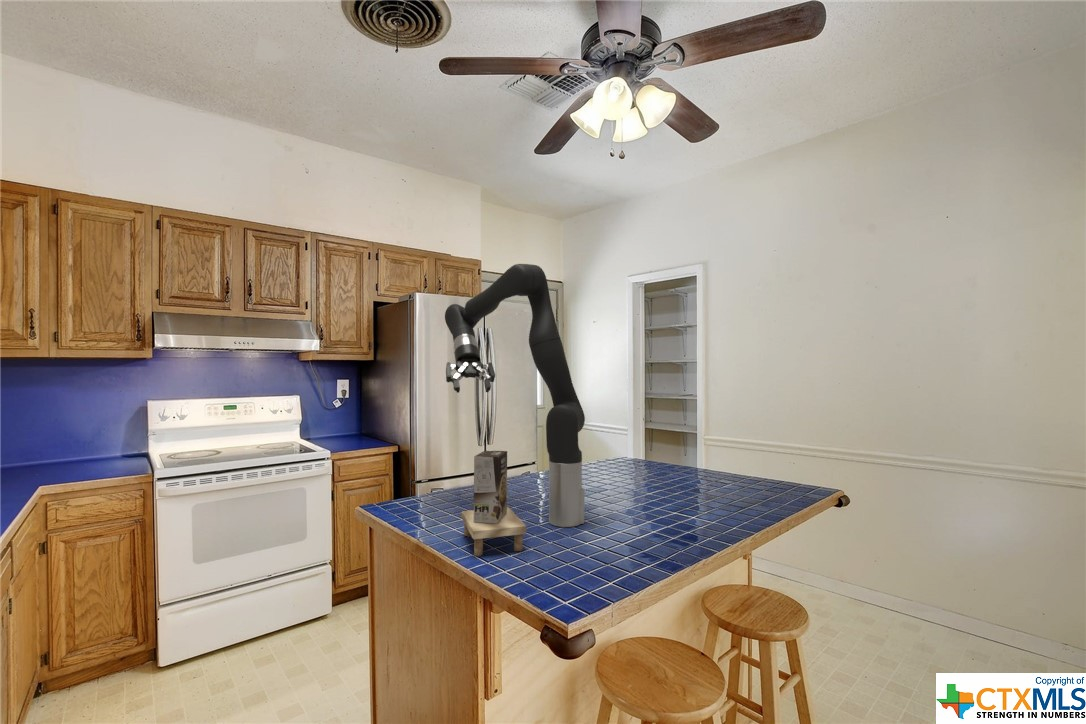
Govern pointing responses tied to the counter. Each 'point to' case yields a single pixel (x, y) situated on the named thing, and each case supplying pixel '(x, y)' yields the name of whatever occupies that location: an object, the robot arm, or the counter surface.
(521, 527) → the footstool
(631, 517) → the counter surface
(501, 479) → the coffee box
